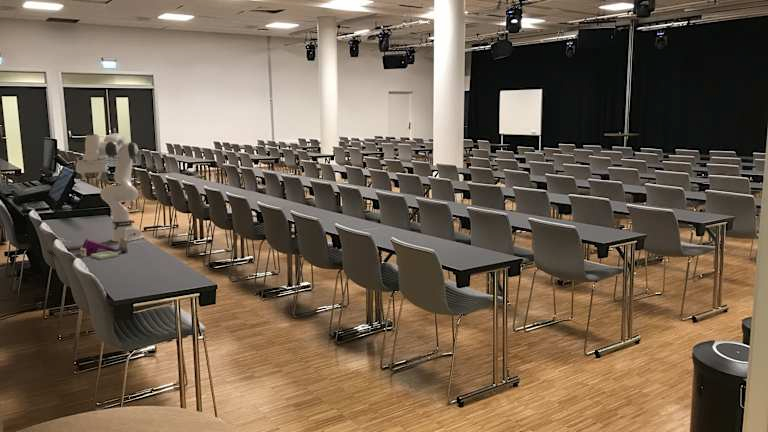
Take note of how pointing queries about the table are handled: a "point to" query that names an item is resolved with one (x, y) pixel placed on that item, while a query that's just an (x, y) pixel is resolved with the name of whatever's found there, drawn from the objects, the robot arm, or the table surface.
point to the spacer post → (123, 245)
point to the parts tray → (104, 255)
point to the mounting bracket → (95, 247)
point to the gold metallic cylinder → (119, 242)
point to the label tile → (83, 252)
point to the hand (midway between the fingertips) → (91, 179)
